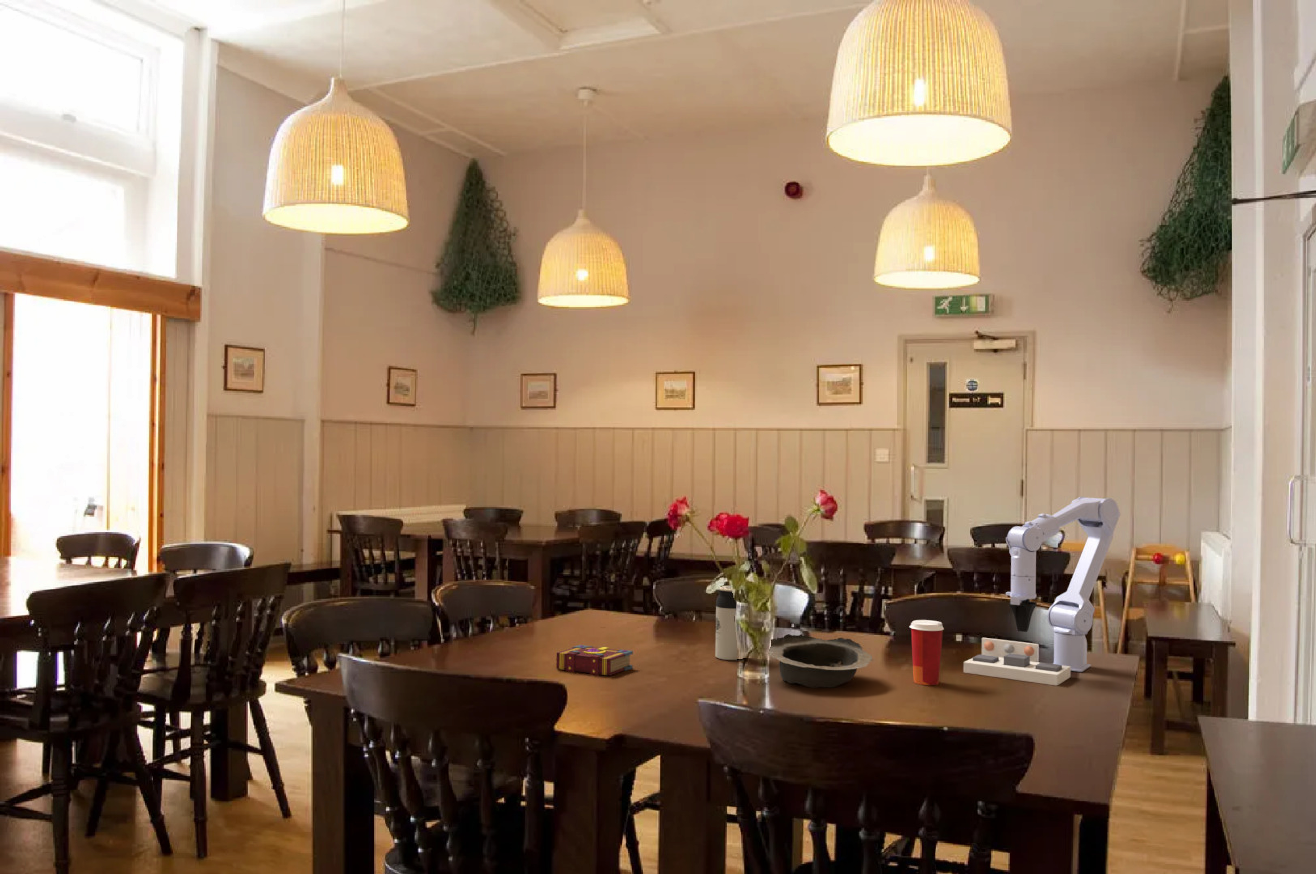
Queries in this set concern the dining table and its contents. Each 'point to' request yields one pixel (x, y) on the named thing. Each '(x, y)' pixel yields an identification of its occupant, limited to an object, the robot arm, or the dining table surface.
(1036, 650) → the card
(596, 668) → the decorative book
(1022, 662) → the button middle
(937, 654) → the paper cup
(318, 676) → the dining table surface
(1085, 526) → the robot arm
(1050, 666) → the button cup side
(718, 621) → the travel mug
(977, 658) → the button mug side
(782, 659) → the stone bowl
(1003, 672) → the button board
